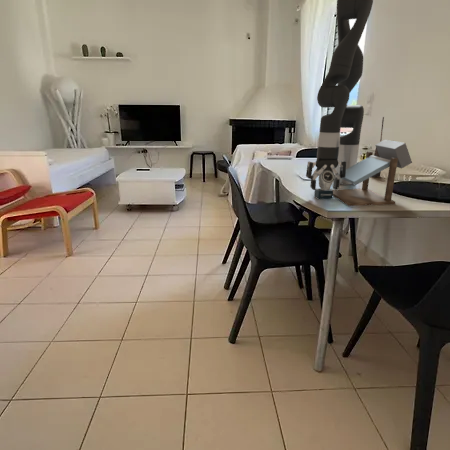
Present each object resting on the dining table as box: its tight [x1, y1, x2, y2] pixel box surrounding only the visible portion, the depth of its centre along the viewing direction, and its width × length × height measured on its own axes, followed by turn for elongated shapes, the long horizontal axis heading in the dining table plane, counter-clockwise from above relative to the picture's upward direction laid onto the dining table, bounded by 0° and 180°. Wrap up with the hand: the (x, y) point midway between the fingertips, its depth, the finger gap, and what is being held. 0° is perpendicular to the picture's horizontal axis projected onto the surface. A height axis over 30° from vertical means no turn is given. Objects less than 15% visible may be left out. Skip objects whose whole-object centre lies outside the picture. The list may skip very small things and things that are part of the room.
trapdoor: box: [339, 139, 413, 186], centre depth 121 cm, size 21×14×8 cm, turn 94°
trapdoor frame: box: [332, 151, 398, 207], centre depth 122 cm, size 17×20×16 cm
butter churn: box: [372, 116, 385, 178], centre depth 157 cm, size 9×10×28 cm
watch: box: [314, 170, 335, 200], centre depth 124 cm, size 6×8×11 cm
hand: (324, 189), depth 124 cm, fingers open, 8 cm apart
